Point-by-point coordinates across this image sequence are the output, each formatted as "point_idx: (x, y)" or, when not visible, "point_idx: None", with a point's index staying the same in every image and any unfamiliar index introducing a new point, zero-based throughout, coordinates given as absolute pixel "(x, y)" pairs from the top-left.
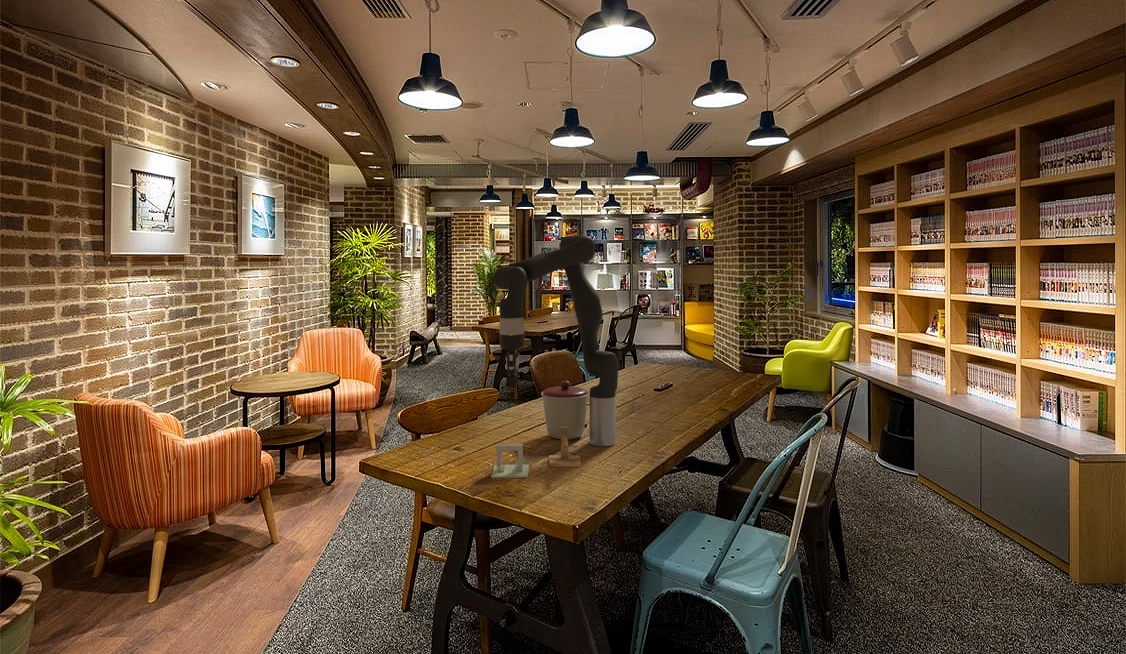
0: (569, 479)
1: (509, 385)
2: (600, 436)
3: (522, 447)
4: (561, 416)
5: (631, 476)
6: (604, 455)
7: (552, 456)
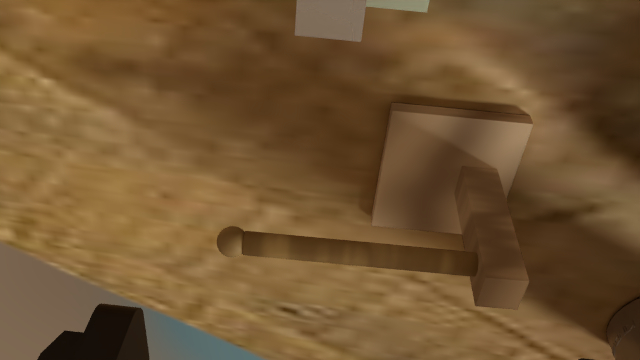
0: (209, 158)
1: (87, 332)
2: (631, 348)
3: (296, 30)
4: None
5: (237, 327)
6: None
7: (509, 135)
